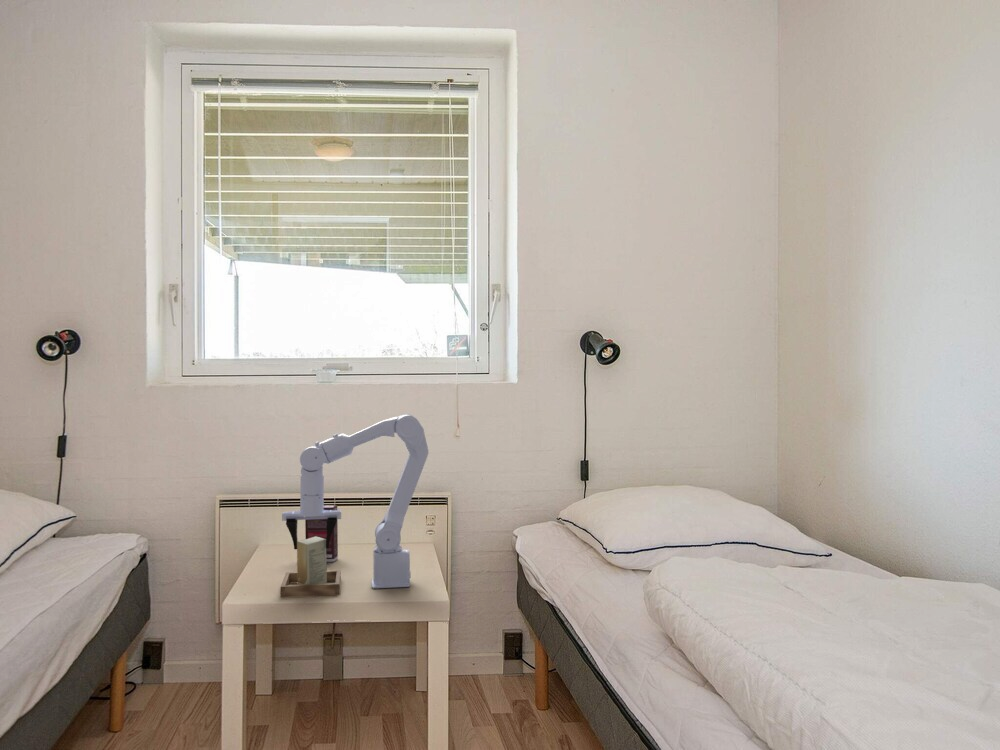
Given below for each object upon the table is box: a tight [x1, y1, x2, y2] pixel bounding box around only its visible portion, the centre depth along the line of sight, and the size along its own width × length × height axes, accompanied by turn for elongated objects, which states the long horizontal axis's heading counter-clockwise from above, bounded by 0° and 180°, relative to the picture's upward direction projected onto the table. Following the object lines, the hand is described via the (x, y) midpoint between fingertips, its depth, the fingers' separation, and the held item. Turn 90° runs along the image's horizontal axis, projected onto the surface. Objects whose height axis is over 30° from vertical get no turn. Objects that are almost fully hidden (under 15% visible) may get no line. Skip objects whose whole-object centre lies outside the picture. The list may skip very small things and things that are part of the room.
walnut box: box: [280, 569, 342, 598], centre depth 194 cm, size 14×14×2 cm
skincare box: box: [296, 536, 328, 585], centre depth 194 cm, size 6×4×12 cm
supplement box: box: [304, 504, 339, 563], centre depth 224 cm, size 9×5×16 cm, turn 88°
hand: (311, 548), depth 194 cm, fingers closed on skincare box, 7 cm apart
